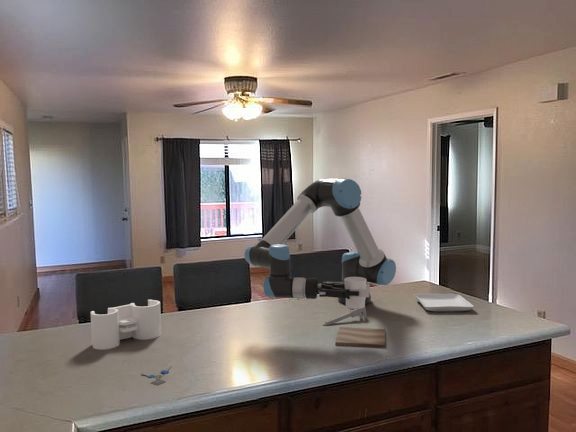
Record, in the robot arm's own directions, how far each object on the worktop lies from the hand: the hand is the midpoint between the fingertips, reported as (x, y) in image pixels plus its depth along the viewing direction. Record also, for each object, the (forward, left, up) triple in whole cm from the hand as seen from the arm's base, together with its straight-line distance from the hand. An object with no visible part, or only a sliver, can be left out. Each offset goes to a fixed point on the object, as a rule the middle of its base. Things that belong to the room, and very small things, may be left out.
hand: (369, 290), depth 173 cm
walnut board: (0, -3, -18) cm, 18 cm away
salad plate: (-49, +31, -18) cm, 60 cm away
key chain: (+43, -62, -18) cm, 77 cm away
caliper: (-19, -10, -18) cm, 28 cm away
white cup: (0, -5, -6) cm, 8 cm away
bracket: (+15, -86, -18) cm, 89 cm away
